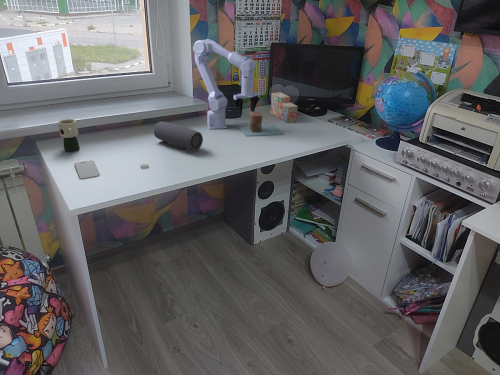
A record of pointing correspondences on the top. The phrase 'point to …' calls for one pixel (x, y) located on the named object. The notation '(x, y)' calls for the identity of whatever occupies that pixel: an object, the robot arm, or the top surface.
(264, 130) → the teal-grey mat
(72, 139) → the character mug
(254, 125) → the walnut block
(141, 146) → the top surface
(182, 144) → the bluetooth speaker
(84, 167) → the smartphone
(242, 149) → the top surface
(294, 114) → the stack of blocks
